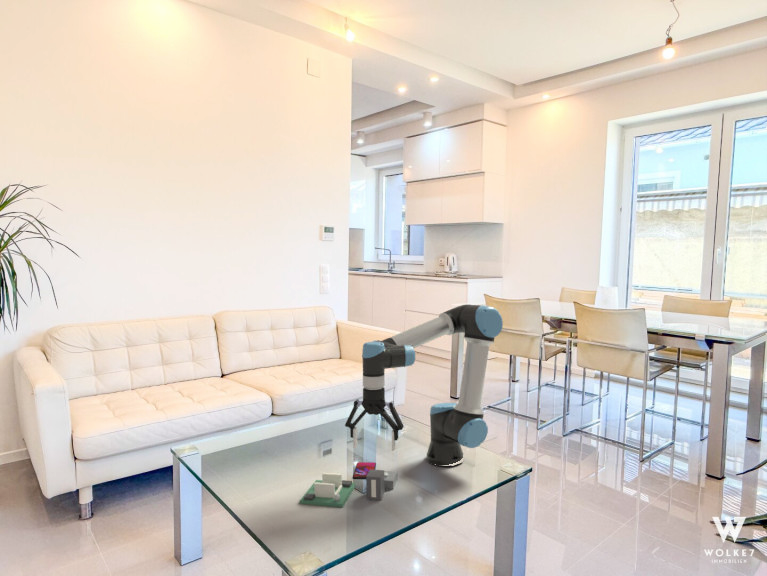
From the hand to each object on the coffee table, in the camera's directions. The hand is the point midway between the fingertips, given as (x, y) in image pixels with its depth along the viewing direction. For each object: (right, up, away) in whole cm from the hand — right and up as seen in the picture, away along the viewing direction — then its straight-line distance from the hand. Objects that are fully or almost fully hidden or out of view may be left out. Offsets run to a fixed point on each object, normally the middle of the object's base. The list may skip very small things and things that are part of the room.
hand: (374, 448), depth 167 cm
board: (-16, -17, +2) cm, 23 cm away
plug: (0, -17, +1) cm, 17 cm away
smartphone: (-4, -17, +22) cm, 28 cm away
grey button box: (+4, -16, +10) cm, 20 cm away
